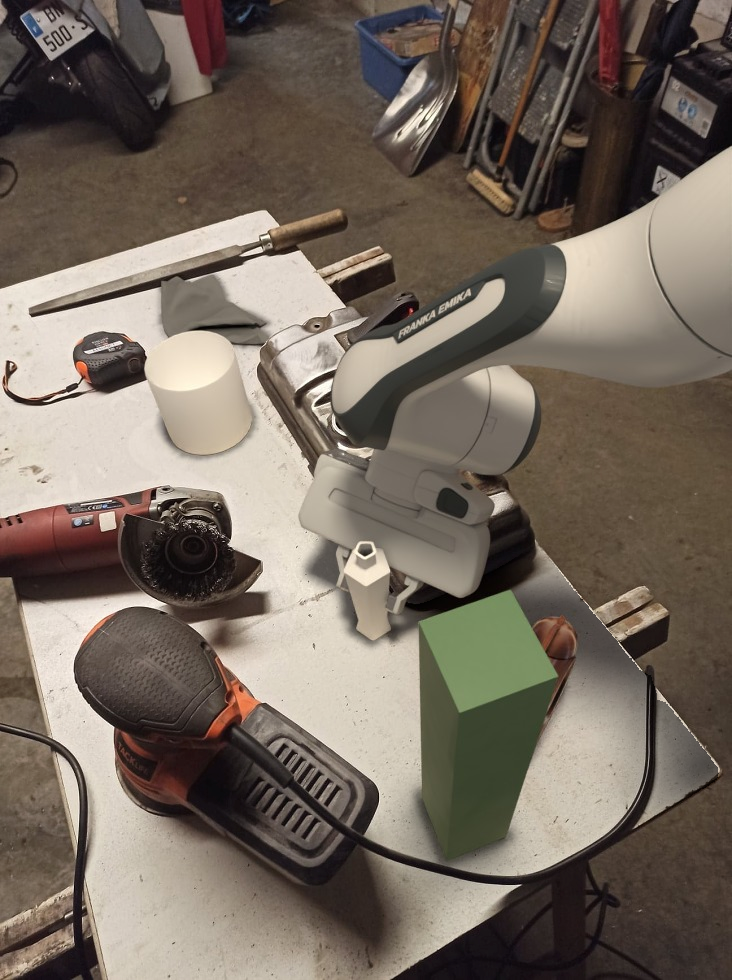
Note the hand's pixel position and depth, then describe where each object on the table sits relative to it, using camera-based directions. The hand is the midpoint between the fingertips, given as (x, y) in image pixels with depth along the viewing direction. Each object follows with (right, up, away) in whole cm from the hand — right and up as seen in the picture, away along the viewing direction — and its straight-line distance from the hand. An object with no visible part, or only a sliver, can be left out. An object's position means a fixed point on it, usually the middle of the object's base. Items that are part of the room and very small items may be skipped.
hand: (368, 600), depth 77 cm
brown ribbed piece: (+16, -11, -2) cm, 20 cm away
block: (+9, -19, -8) cm, 23 cm away
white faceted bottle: (+1, -4, +5) cm, 7 cm away
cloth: (-26, +39, +42) cm, 63 cm away
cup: (-22, +21, +27) cm, 40 cm away
